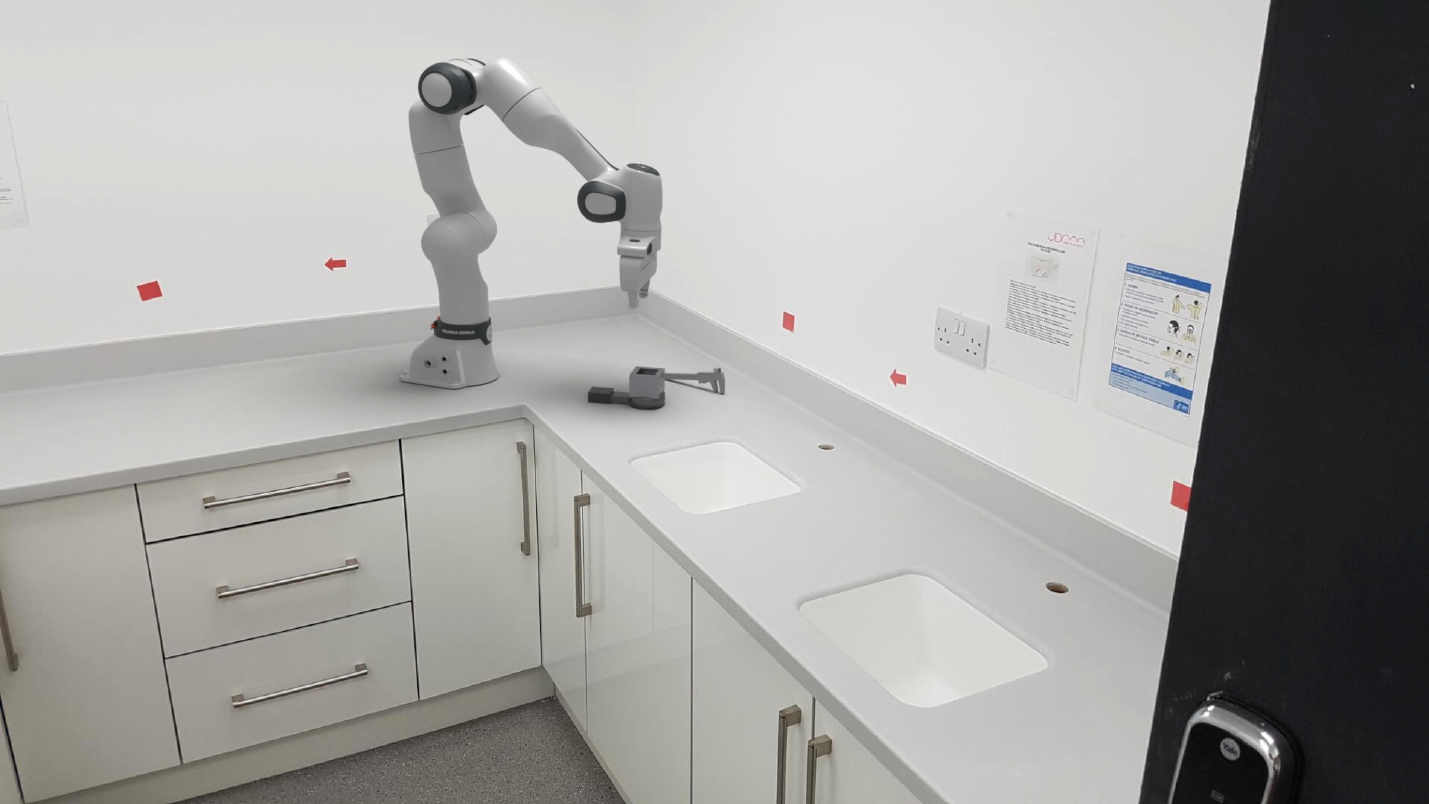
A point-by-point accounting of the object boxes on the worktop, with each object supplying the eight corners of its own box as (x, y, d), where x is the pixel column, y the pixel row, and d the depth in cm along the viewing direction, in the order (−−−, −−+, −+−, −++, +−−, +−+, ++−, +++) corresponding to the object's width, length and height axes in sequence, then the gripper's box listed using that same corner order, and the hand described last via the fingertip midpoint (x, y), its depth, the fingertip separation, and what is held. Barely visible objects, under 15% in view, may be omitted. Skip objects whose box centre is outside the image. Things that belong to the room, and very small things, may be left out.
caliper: (725, 394, 252) (725, 368, 250) (722, 395, 251) (723, 369, 249) (655, 376, 263) (655, 351, 261) (652, 378, 262) (652, 352, 260)
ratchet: (668, 399, 247) (668, 374, 245) (661, 411, 240) (661, 385, 238) (594, 393, 249) (594, 368, 247) (585, 405, 242) (585, 379, 240)
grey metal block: (629, 396, 240) (629, 375, 239) (635, 387, 247) (635, 366, 245) (658, 399, 240) (659, 377, 238) (664, 389, 246) (664, 368, 244)
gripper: (637, 230, 247) (635, 290, 252) (615, 248, 228) (613, 312, 233) (664, 233, 246) (662, 292, 251) (644, 251, 227) (642, 315, 232)
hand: (638, 302), depth 242 cm, fingers open, 8 cm apart
